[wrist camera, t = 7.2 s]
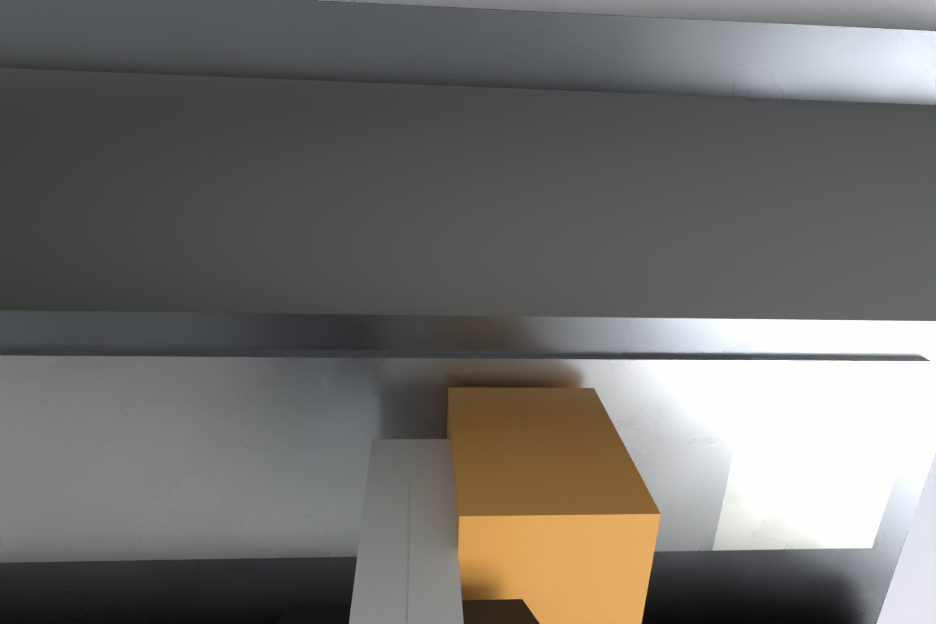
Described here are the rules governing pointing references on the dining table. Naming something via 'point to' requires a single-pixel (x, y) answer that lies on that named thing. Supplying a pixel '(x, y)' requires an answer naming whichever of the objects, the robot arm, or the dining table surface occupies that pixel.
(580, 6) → the dining table surface
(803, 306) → the dark grey cylinder rod
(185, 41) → the panel
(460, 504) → the tan cardboard-colored block
